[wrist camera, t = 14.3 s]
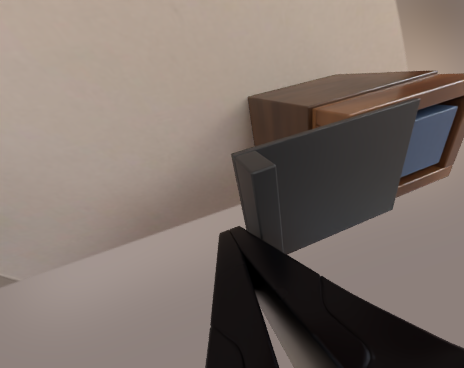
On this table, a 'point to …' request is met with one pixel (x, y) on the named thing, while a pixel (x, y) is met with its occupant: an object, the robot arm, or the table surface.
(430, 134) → the block
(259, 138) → the cabinet body
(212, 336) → the robot arm
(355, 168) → the lid
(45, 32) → the table surface
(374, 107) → the tray
